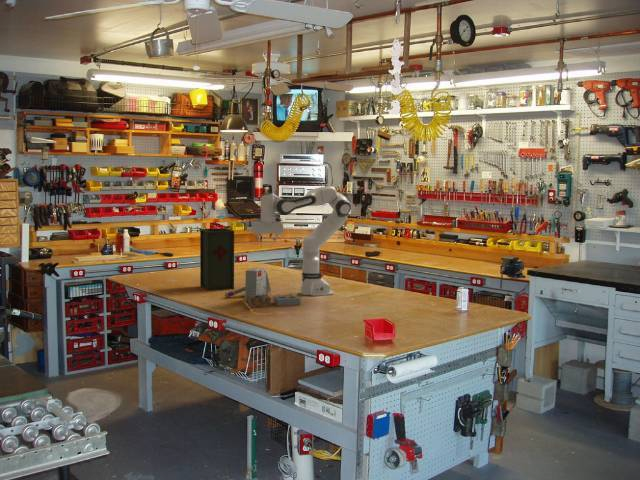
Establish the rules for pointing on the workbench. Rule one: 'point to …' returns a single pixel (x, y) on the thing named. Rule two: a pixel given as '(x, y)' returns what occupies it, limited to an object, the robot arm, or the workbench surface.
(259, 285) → the frosted round peg
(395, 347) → the workbench surface
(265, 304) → the rack
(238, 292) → the hammer
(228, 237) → the first aid box
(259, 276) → the hard drive box
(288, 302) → the socket block
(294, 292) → the tan block
